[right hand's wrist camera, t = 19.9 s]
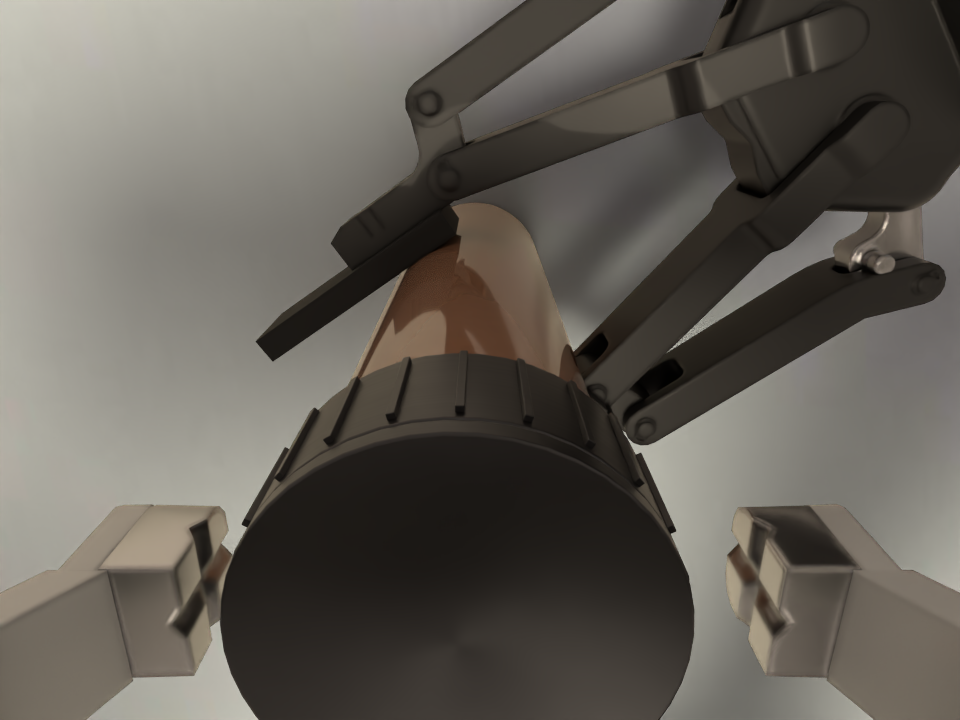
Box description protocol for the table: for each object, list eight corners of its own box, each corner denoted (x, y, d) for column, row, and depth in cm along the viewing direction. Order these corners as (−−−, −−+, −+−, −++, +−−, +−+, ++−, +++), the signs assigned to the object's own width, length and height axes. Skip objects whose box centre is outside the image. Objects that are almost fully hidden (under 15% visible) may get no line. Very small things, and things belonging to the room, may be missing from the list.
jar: (503, 179, 25) (555, 365, 8) (558, 293, 27) (706, 671, 9) (388, 238, 26) (188, 532, 8) (448, 346, 28) (387, 786, 10)
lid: (253, 636, 11) (195, 774, 9) (297, 306, 9) (235, 375, 7) (591, 694, 12) (618, 840, 9) (705, 393, 10) (775, 484, 7)
